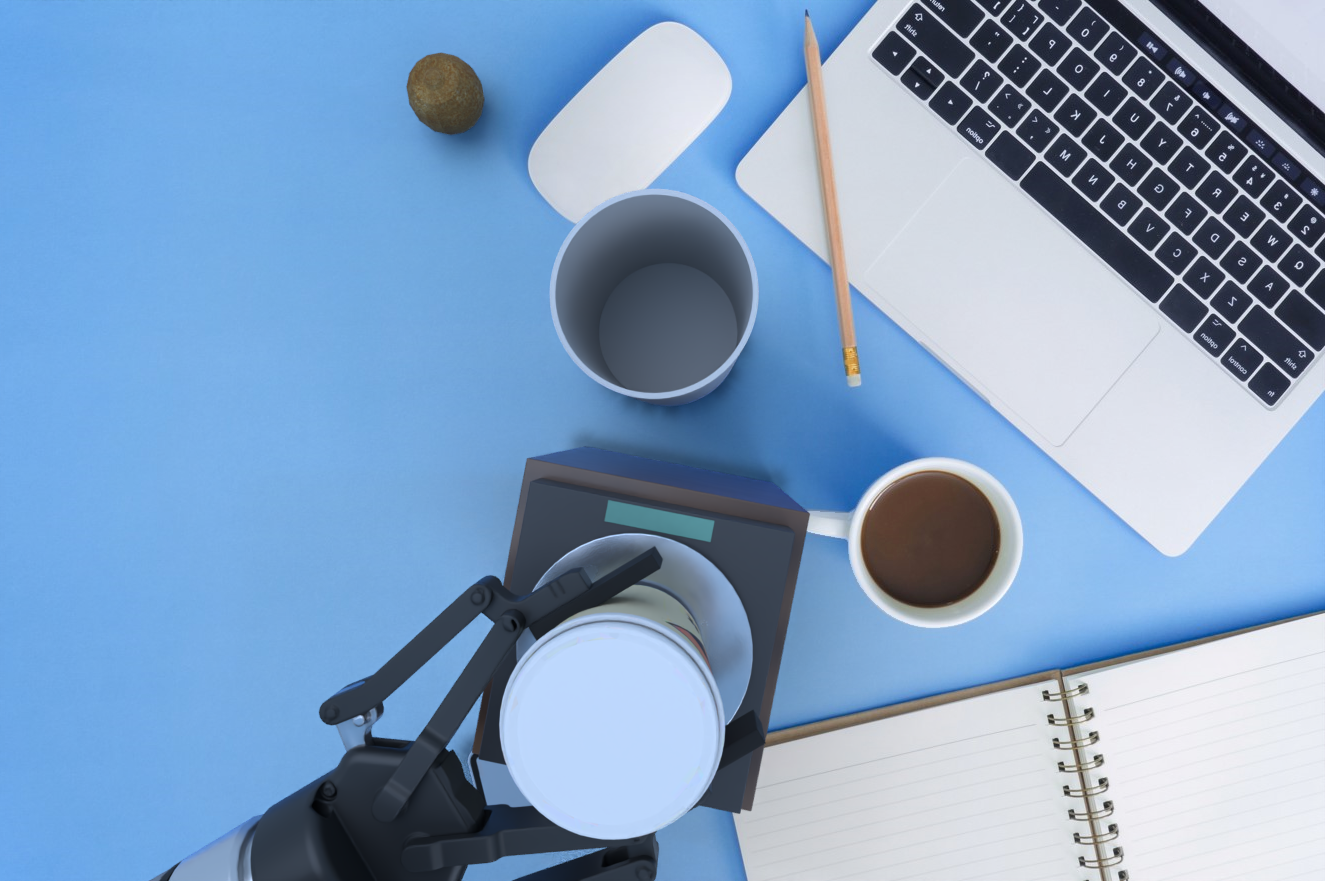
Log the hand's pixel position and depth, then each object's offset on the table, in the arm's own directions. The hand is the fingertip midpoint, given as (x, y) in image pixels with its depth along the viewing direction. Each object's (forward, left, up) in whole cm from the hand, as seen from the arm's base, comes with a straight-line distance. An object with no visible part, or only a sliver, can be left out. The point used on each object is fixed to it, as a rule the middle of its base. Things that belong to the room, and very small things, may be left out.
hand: (708, 641), depth 41 cm
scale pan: (-3, +3, -8) cm, 9 cm away
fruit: (+33, +28, -37) cm, 57 cm away
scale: (-3, +3, -11) cm, 12 cm away
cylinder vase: (+17, +6, -37) cm, 41 cm away
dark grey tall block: (-3, +3, -37) cm, 37 cm away
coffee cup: (-3, +3, -7) cm, 8 cm away
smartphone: (-23, +9, -37) cm, 45 cm away
